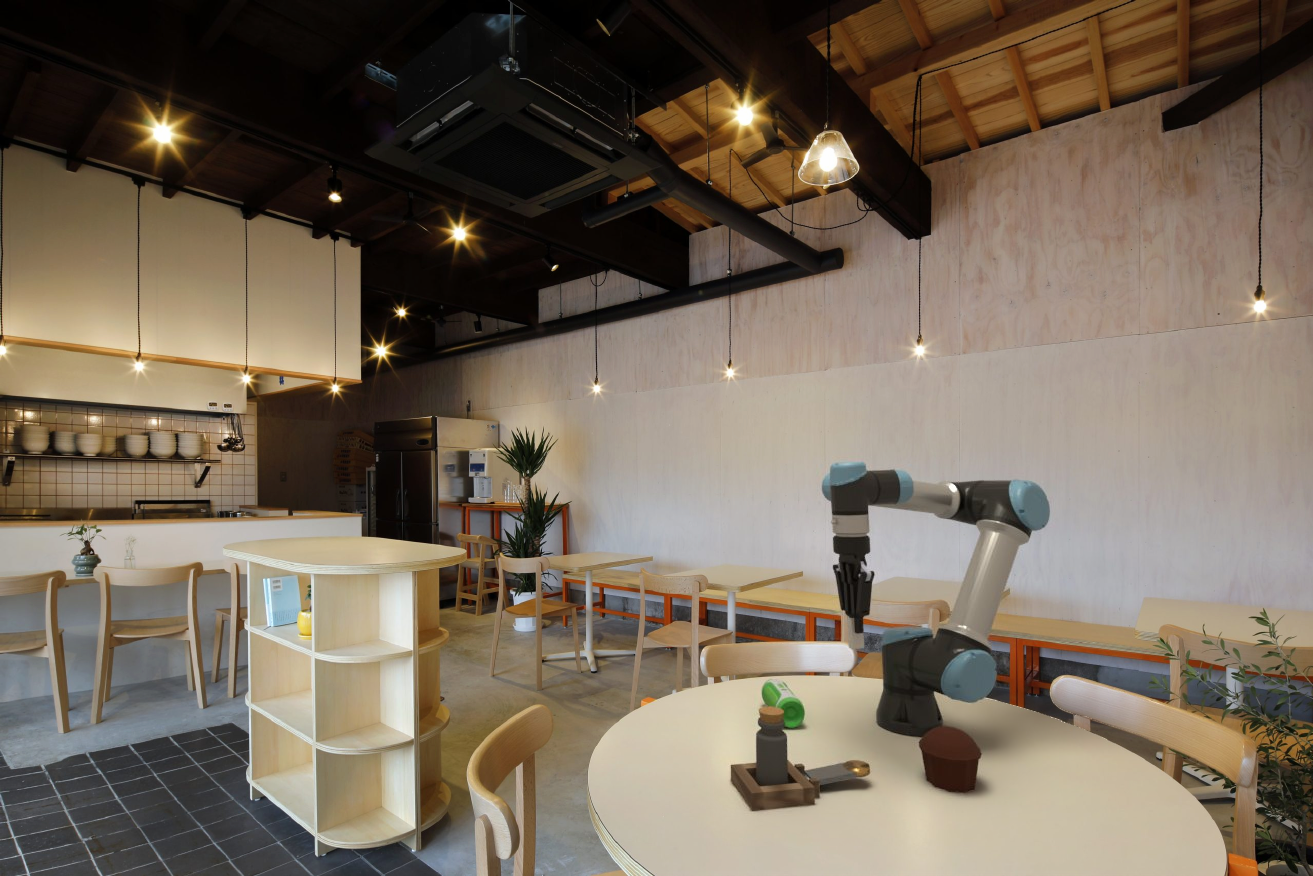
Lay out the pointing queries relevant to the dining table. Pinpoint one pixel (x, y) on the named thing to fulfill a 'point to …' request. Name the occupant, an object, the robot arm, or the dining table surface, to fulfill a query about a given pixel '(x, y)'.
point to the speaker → (783, 702)
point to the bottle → (771, 748)
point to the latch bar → (838, 772)
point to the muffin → (950, 759)
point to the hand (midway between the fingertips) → (856, 647)
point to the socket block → (774, 788)
